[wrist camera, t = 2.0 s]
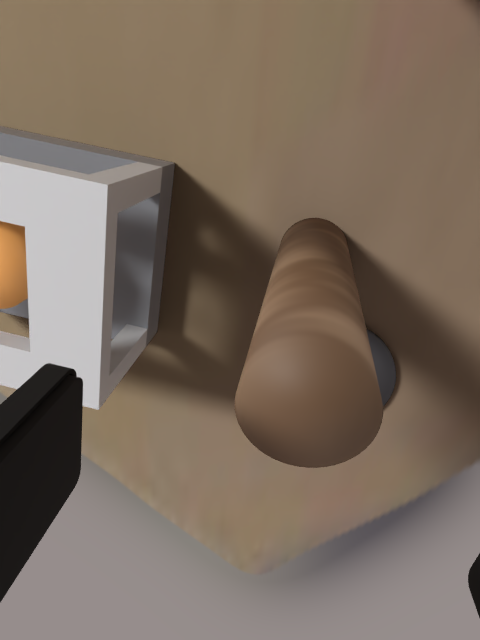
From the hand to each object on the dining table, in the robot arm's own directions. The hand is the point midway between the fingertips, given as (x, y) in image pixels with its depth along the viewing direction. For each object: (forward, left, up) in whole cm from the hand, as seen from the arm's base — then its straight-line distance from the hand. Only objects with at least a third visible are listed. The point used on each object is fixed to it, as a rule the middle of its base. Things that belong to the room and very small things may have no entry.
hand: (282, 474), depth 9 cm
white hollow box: (+14, +2, -16) cm, 21 cm away
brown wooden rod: (0, 0, -16) cm, 16 cm away
